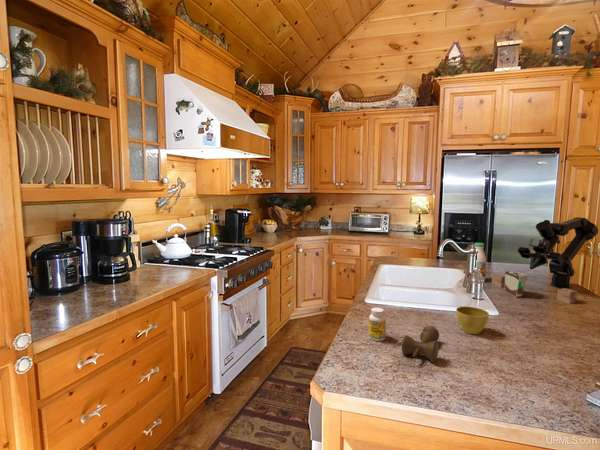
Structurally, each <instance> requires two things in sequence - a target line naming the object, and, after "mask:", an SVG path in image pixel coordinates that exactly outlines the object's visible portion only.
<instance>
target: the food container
mask: <svg viewBox="0 0 600 450" xmlns="http://www.w3.org/2000/svg"><path fill="white" fill-rule="evenodd" d="M503 274H504V276H505V287H504V292H505V293H507V294H508V295H510V296H512V297H514V298H515V299H520V298H523V297H524V296H523V295H524V291H525V287H526V282H527V281H528V276H527V274H526V273H524V272H519V271H514V270H504V273H503Z"/></svg>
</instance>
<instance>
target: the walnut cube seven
mask: <svg viewBox="0 0 600 450" xmlns="http://www.w3.org/2000/svg"><path fill="white" fill-rule="evenodd" d="M577 295H578V291H577V290H572V289H571V288H558V289H557V294H556V301H558V302H561V303H565V304H569V305H570V304H575V303H577Z"/></svg>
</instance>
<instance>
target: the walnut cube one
mask: <svg viewBox="0 0 600 450" xmlns="http://www.w3.org/2000/svg"><path fill="white" fill-rule="evenodd" d="M491 286H496V287H499V288H503V287H504V288H505V275H503V274H499V273H498V274H492V277H491Z"/></svg>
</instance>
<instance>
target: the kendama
mask: <svg viewBox="0 0 600 450" xmlns="http://www.w3.org/2000/svg"><path fill="white" fill-rule="evenodd" d="M439 337H440V333H439V330H438V329H437V328H436V327H434V326H429V325H427V326H425V327H424V328H423V329H422V332H421V333H420V335H419V339H420V341H417V340H415V339H413V338H412V337H410V335H407V334H406V335H404V336H403V339H402V341H401V353H402V354H403V355H410V354H412V357H413V358H414V357H416V356H417V355H422V356H424V357H426V359H428V360H429V361H430V362H431V363H433V364H434V363H436V362H437V359H438V356H439V342H438V340H439V339H440V338H439Z"/></svg>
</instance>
